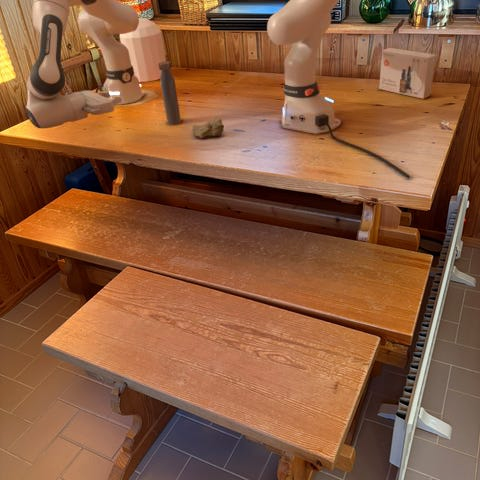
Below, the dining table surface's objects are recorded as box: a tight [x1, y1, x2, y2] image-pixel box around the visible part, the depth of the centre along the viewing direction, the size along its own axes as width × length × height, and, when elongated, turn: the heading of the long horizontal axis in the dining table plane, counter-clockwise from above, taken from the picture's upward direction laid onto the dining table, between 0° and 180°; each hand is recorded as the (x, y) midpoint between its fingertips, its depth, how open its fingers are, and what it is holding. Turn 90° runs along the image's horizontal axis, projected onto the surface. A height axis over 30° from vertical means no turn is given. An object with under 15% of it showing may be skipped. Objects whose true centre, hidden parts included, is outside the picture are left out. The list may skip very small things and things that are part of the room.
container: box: [119, 17, 167, 83], centre depth 235 cm, size 21×21×28 cm
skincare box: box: [378, 47, 437, 100], centre depth 184 cm, size 21×6×16 cm, turn 40°
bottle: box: [159, 69, 182, 126], centre depth 177 cm, size 6×6×22 cm
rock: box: [192, 116, 225, 139], centre depth 168 cm, size 11×6×10 cm
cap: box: [159, 60, 172, 70], centre depth 171 cm, size 4×4×2 cm
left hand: (114, 96), depth 164 cm, fingers open, 8 cm apart
